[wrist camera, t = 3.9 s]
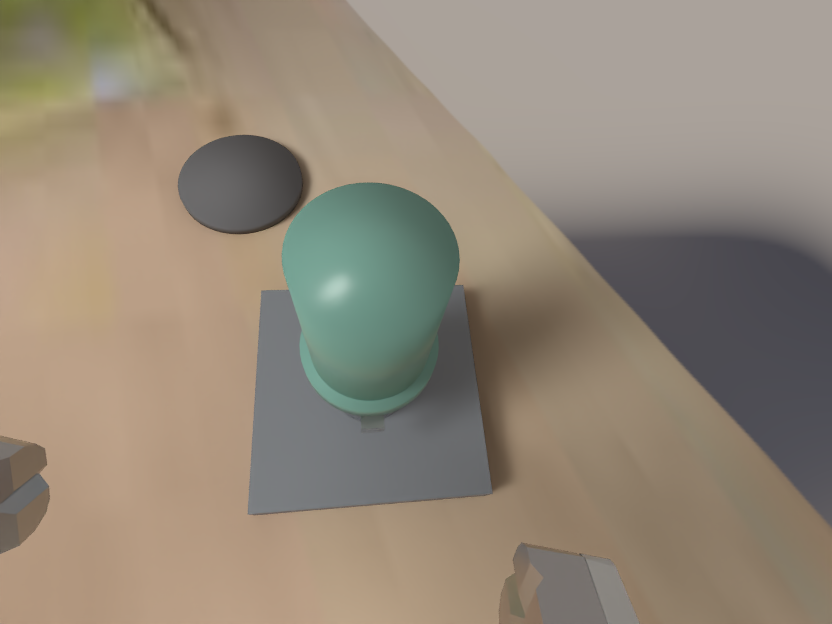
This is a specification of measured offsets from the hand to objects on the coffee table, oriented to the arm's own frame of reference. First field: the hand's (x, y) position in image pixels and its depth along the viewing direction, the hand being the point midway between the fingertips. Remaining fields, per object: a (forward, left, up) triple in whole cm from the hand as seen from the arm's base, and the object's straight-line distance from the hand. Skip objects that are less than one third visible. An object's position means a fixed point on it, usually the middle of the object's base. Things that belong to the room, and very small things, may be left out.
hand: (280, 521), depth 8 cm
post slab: (+2, +7, -17) cm, 19 cm away
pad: (-6, +22, -17) cm, 29 cm away
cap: (+2, +7, -10) cm, 13 cm away
